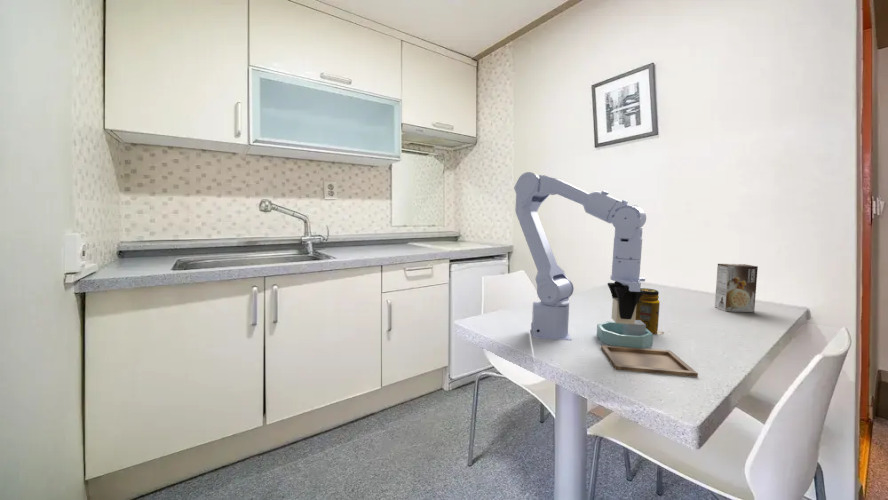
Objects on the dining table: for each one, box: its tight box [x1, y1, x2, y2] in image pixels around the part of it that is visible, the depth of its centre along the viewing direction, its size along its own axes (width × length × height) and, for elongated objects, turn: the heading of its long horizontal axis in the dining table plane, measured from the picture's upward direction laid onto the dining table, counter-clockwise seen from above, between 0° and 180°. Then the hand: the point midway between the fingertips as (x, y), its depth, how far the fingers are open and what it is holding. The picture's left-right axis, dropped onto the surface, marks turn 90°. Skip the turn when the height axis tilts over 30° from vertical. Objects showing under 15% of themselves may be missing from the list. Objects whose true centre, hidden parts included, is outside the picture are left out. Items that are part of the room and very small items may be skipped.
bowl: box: [596, 321, 654, 349], centre depth 87 cm, size 12×12×4 cm
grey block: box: [622, 320, 646, 336], centre depth 87 cm, size 4×4×5 cm
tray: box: [600, 344, 699, 378], centre depth 75 cm, size 15×12×1 cm
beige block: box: [611, 298, 637, 324], centre depth 80 cm, size 4×4×5 cm
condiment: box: [635, 287, 665, 335], centre depth 95 cm, size 7×8×12 cm
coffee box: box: [714, 263, 759, 313], centre depth 120 cm, size 9×6×16 cm
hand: (622, 315), depth 80 cm, fingers closed on beige block, 4 cm apart
